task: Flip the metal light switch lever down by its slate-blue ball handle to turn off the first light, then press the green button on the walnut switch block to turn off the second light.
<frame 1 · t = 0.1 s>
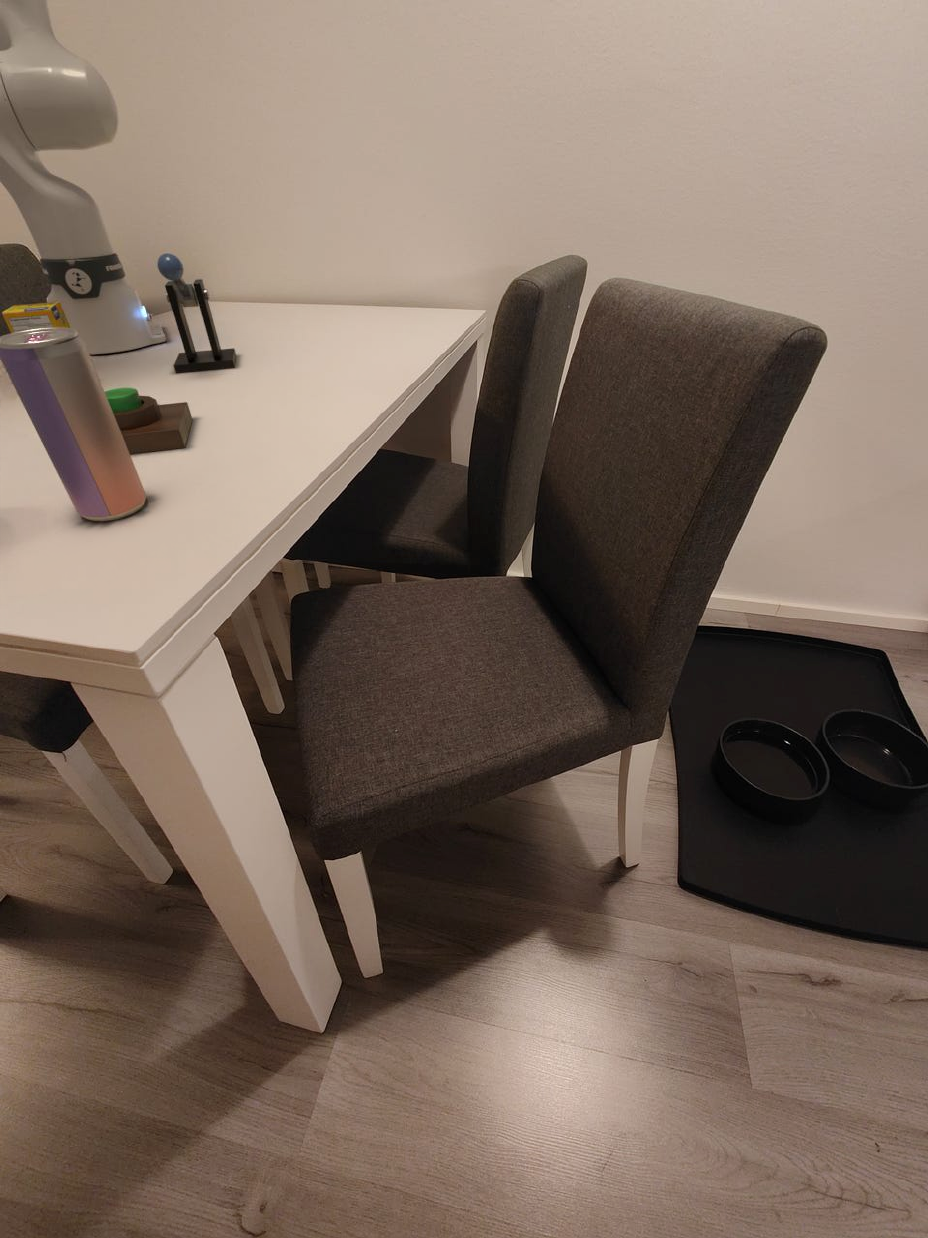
supplement box: (68, 389, 85), on the table
button block: (136, 438, 68), on the table
switch lever: (179, 281, 83), point 12 cm above the table, hinge at 28.0°
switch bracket: (207, 363, 94), on the table
light button: (121, 400, 65), point 4 cm above the table, slide at 0.1 cm
beverage can: (115, 510, 54), on the table
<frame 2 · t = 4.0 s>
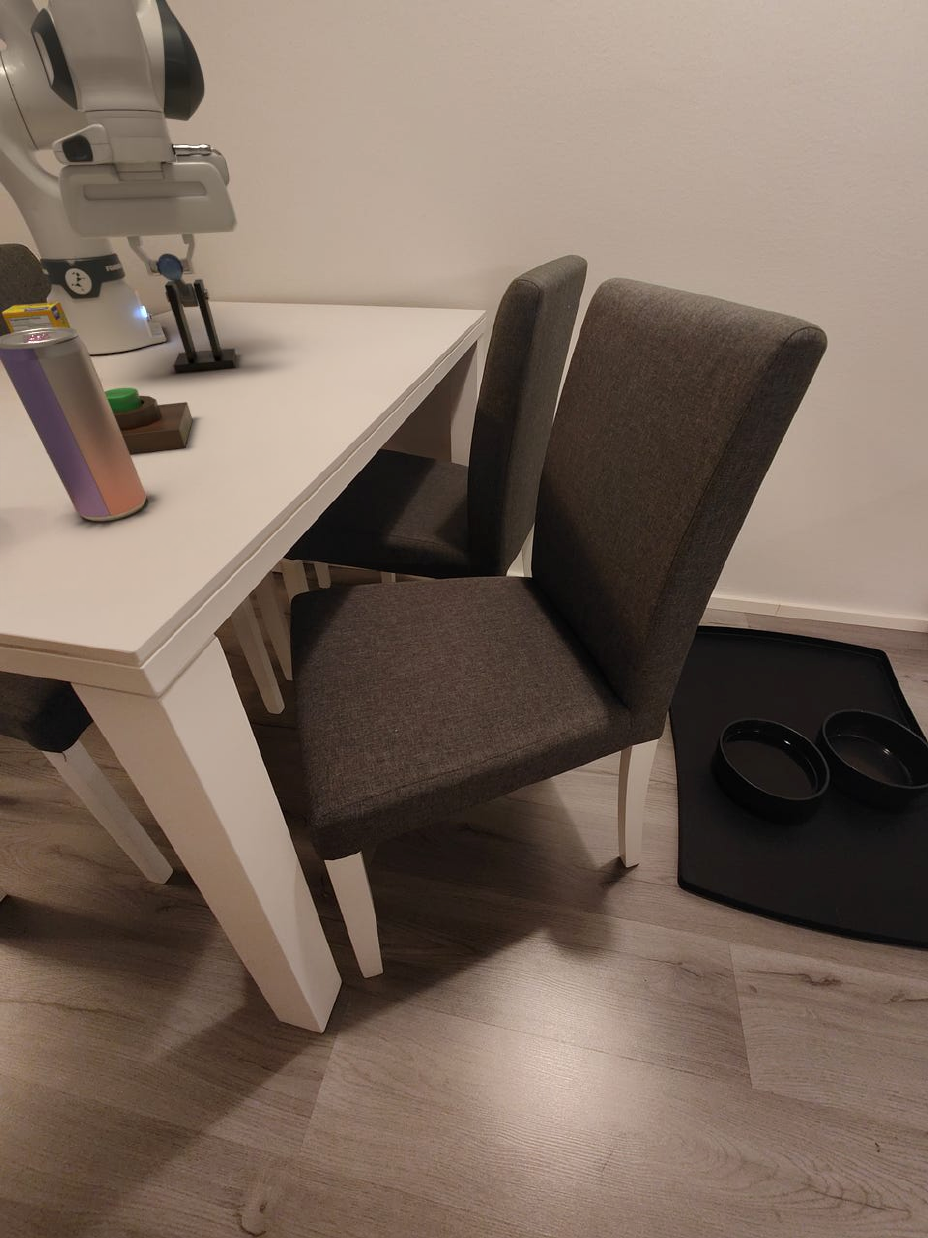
hand: (172, 274, 78), 14 cm above the table, tool pointing down, fingers closed on switch lever, 3 cm apart
switch lever: (179, 281, 83), point 12 cm above the table, hinge at 28.0°, touching gripper
everything else where it was.
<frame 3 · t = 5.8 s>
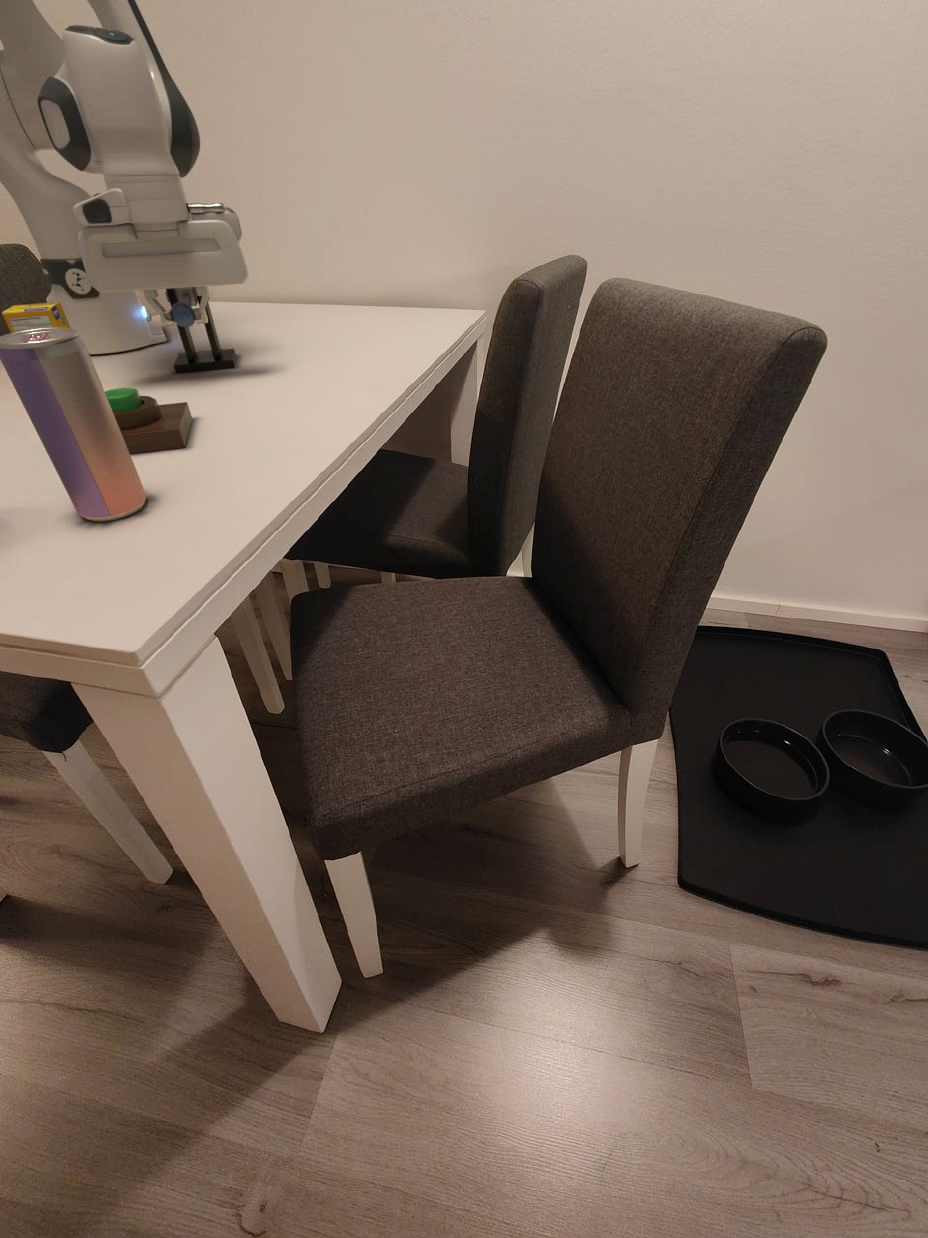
hand: (185, 323, 81), 8 cm above the table, tool pointing down, fingers closed on switch lever, 3 cm apart
switch lever: (185, 304, 84), point 9 cm above the table, hinge at -5.8°, touching gripper
everything else where it was.
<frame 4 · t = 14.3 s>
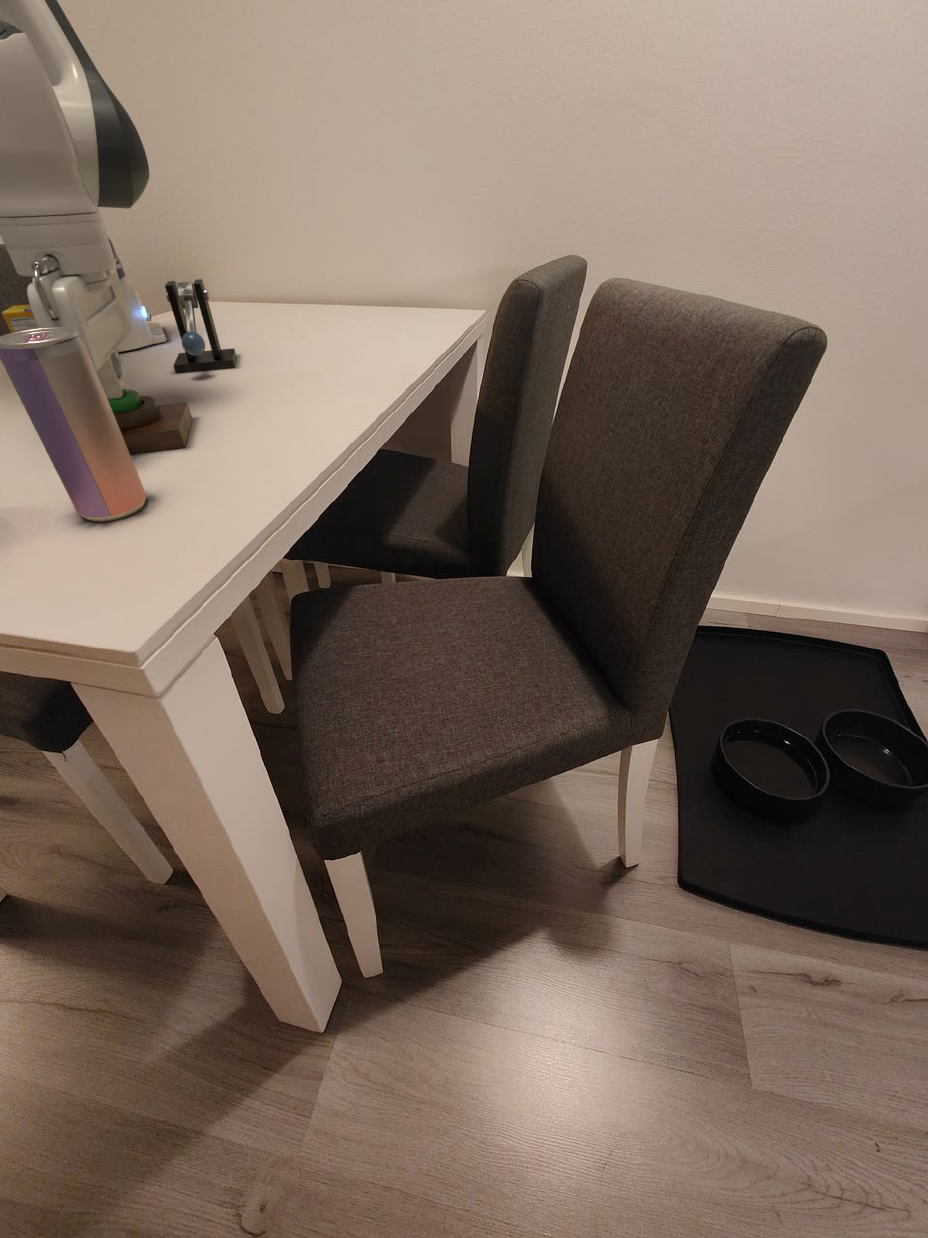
hand: (117, 394, 64), 5 cm above the table, tool pointing down, fingers closed, pressing on light button
switch lever: (190, 319, 86), point 7 cm above the table, hinge at -30.6°
light button: (122, 402, 65), point 4 cm above the table, slide at -0.1 cm, touching gripper
everything else where it was.
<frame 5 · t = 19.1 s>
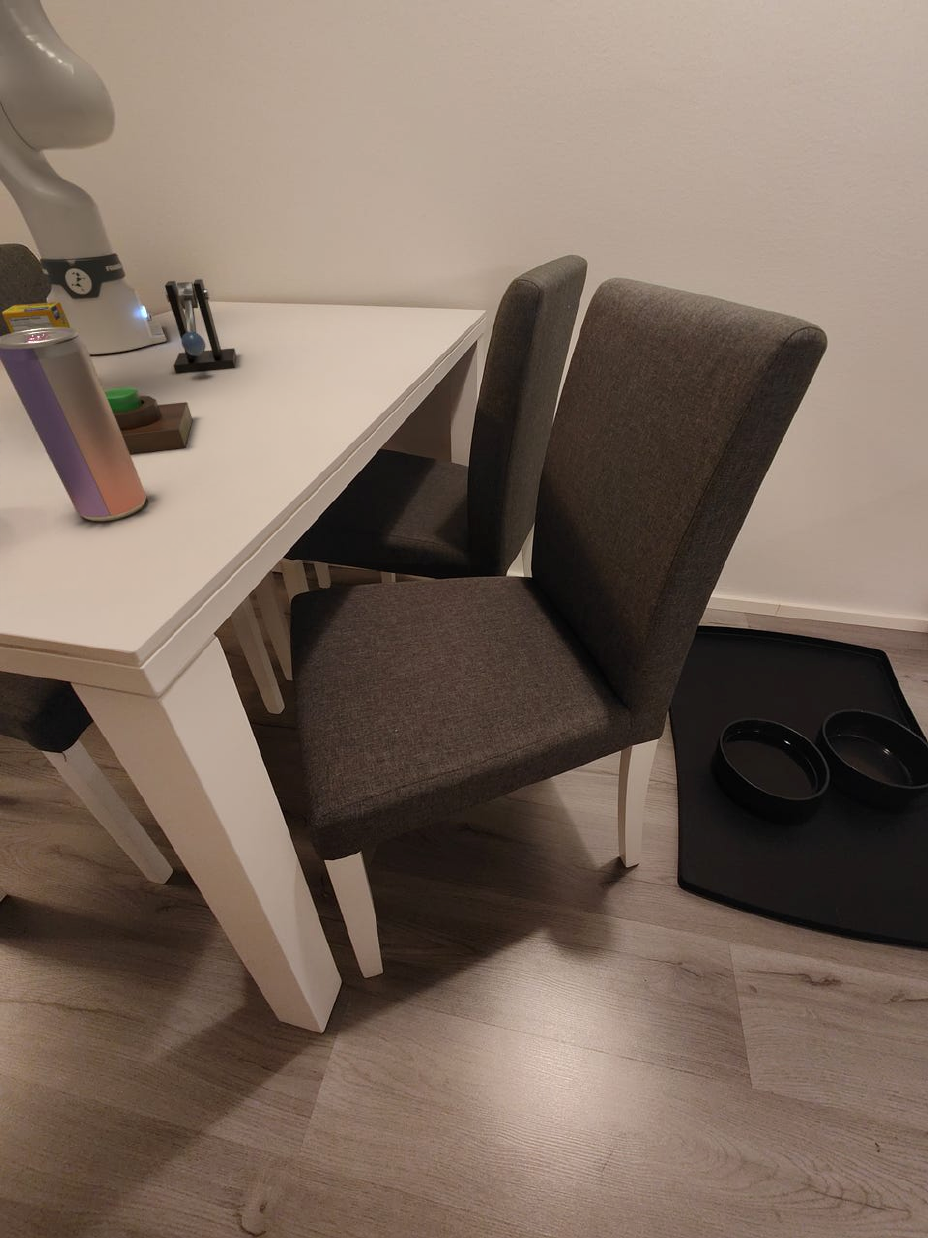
light button: (121, 400, 65), point 4 cm above the table, slide at 0.1 cm
everything else where it was.
at the end: switch lever at -31° (first picture: +28°); light button pushed in 1.0 cm at the most during the clip, back to where it started at the end; light button slide at 0.1 cm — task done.
